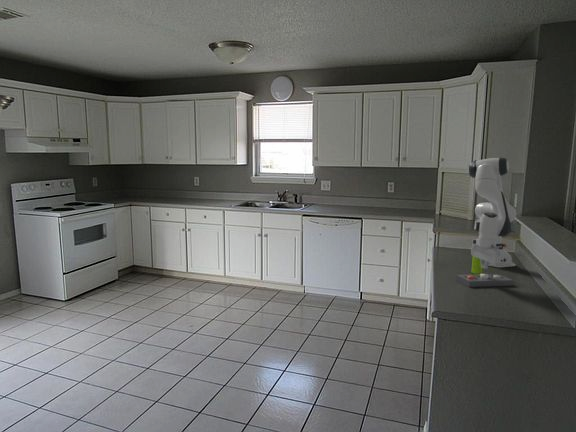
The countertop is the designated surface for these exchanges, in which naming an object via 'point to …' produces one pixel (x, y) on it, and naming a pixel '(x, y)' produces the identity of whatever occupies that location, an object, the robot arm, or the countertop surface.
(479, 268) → the soap dispenser
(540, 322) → the countertop surface
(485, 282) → the console
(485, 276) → the button cream
